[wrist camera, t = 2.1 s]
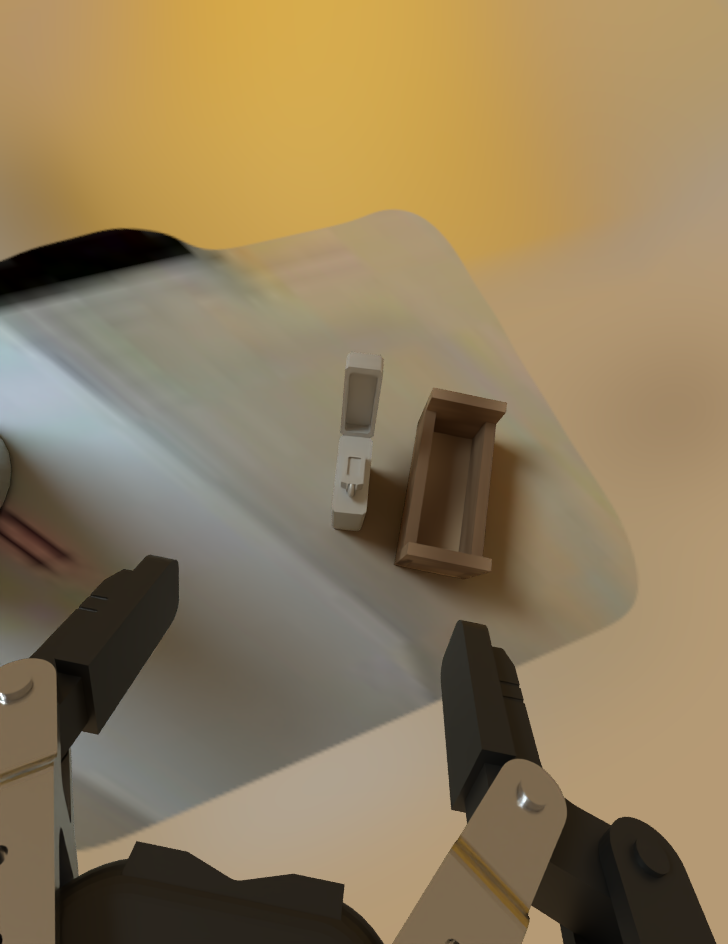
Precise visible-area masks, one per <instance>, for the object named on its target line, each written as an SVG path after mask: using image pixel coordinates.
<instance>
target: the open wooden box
mask: <svg viewBox="0 0 728 944" xmlns="http://www.w3.org/2000/svg"><path fill="white" fill-rule="evenodd" d="M506 406H507V403H506V402H501V401H496V400H491V399H486V398H481V397H477V396H472V395H467V394H462V393H457V392H452V391H447V390H443V389H438V388H433V390H432V392H431V394H430V396H429V399H428V401H427V403H426V406H425V408H424V410H423V412H422V415H421V417H420V419H419V422H418V426H417V432H416V438H415V444H414V450H413V456H412V462H411V468H410V474H409V480H408V486H407V491H406V497H405V503H404V509H403V515H402V521H401V527H400V533H399V539H398V545H397V551H396V557H395V563H394V565H398V566H402V567H407V568H412V569H417V570H422V571H427V572H432V573H437V574H441V575H446V576H451V577H456V578H461V579H466V578H470V577H473V576H476V575H480V574H483V573H487V572H490V571H491V566H492V559H491V558H486V557H483V548H484V538H485V528H486V518H487V508H488V498H489V489H490V479H491V469H492V459H493V449H494V439H495V429H496V424H497V422H498V421H499V420H500V419H501V418H502V416H503V415H504V414H505V413H506Z"/></svg>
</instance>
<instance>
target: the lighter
mask: <svg viewBox="0 0 728 944" xmlns="http://www.w3.org/2000/svg"><path fill="white" fill-rule="evenodd" d="M383 360H384V359H383V358H382V356H381V355H375V354H367V353H358V352H351V353H349V354H348V356H347V362H346V369H345V381H344V393H343V406H342V418H341V431H340V433H341V434H343V436H341V437H340V441H339V449H338V457H337V466H336V474H335V483H334V491H333V499H332V508H331V509H332V526H333V528H334V529H343V530H352V531H359V530H360V529H361V527H362V524H363V521H364V518H365V514H366V510H367V499H368V488H369V477H370V467H371V456H372V445H373V441H372V440H371V439H370V438H371V437H373V436H374V429H375V423H376V416H377V410H378V403H379V396H380V390H381V383H382V377H383Z"/></svg>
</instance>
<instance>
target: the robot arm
mask: <svg viewBox="0 0 728 944" xmlns="http://www.w3.org/2000/svg"><path fill="white" fill-rule="evenodd" d="M10 478H11V463H10V457H9V453H8V450H7V448H6V446H5V444H4V442H3V440H2V439H1V438H0V508H1V506H2V505H3V503H4V501H5V498H6V495H7V492H8V489H9V486H10ZM178 603H179V567H178V562H177V560H173V559H168V558H164V557H159V556H154V555H148V556H146V557H145V558H144V559H143V560H142V561H141V562H140V564H139V565H138V566H137V567H136V568H135V569H134V570H133V571H131V570H126V569H123V570H121V571H120V572H118V573H116V574H114V575H113V576H111V577H109V578H107V579H105V580H104V581H103V582H102V583H101V584H100V585H99V586H98V587H97V588H96V589H95V590H94V592H93V593H92V594H91V596H90V597H88V598H87V599H86V600H85V601H84V602H83V603H82V604H81V605H80V606H79V609H76V610H75V611H74V612H73V613H72V614H71V615H70V616H69V618H68V619H67V620H66V621H65V622H64V623H63V624H62V625H61V626H60V627H59V628H58V629H57V630H56V631H55V632H54V633H53V634H52V635H51V636H50V637H49V638H48V639H47V640H46V641H45V643H44V644H43V645H42V646H41V647H40V648H39V649H38V650H37V651H36V652H35V653H34V654H33V655H32V656H31V657H30V658H29V659H22V660H17V661H14V662H11V663H8V664H6V665H4V666H2V667H0V944H383V942H382V940H381V939H380V938H379V936H378V935H377V933H376V932H375V931H374V929H373V928H372V927H371V926H370V925H369V924H368V923H367V921H366V920H365V919H364V918H363V917H362V916H361V915H359V914H358V913H357V912H356V911H354V910H353V909H352V908H351V907H349V906H348V905H346V904H345V903H343V893H344V884H340V883H335V882H330V881H326V880H321V879H316V878H311V877H306V876H301V875H297V874H288V875H280V876H273V877H265V878H257V879H250V880H242V881H237V880H233V879H231V878H229V877H228V876H226V875H224V874H222V873H221V872H219V871H218V870H216V869H215V868H213V867H211V866H210V865H208V864H206V863H205V862H203V861H202V860H200V859H198V858H197V857H195V856H193V855H192V854H190V853H189V852H186V851H181V850H176V849H171V848H167V847H162V846H157V845H152V844H147V843H142V842H136V844H135V846H134V848H133V850H132V852H131V854H130V856H129V858H128V859H123V860H118V861H115V862H111V863H108V864H104V865H102V866H99V867H97V868H94V869H92V870H90V871H88V872H86V873H84V874H82V875H80V876H78V862H77V852H76V844H75V833H74V811H73V786H72V760H71V746H72V744H73V743H74V741H75V740H76V738H77V737H78V736H79V734H80V733H81V731H84V732H88V733H93V734H99V733H100V731H101V730H102V728H103V727H104V725H105V724H106V722H107V721H108V719H109V718H110V716H111V714H112V713H113V711H114V710H115V708H116V707H117V705H118V704H119V702H120V701H121V699H122V698H123V696H124V695H125V693H126V692H127V690H128V689H129V687H130V686H131V684H132V683H133V681H134V680H135V678H136V676H137V675H138V673H139V672H140V670H141V669H142V667H143V666H144V664H145V663H146V661H147V660H148V658H149V657H150V655H151V654H152V652H153V651H154V649H155V648H156V646H157V645H158V643H159V642H160V640H161V639H162V637H163V635H164V634H165V632H166V631H167V629H168V628H169V626H170V625H171V623H172V621H173V619H174V617H175V615H176V612H177V608H178ZM441 689H442V701H443V713H444V726H445V738H446V750H447V762H448V775H449V787H450V800H451V809H452V810H455V811H460V812H465V813H466V818H467V825H466V827H465V829H464V830H463V832H462V833H461V835H460V837H459V838H458V840H457V841H456V842H455V843H454V845H453V847H452V848H451V849H450V851H449V853H448V854H447V856H446V858H445V859H444V861H443V862H442V864H441V866H440V867H439V869H438V871H437V872H436V874H435V875H434V877H433V879H432V880H431V882H430V884H429V885H428V887H427V888H426V890H425V892H424V893H423V895H422V897H421V898H420V900H419V901H418V903H417V905H416V906H415V908H414V909H413V911H412V913H411V914H410V916H409V917H408V919H407V921H406V923H405V924H404V926H403V927H402V929H401V930H400V932H399V934H398V935H397V937H396V938H395V940H394V942H393V943H392V944H522V941H523V939H524V936H525V933H526V931H527V928H528V925H529V919H530V918H529V916H528V912H529V909H530V906H531V905H532V906H533V907H535V908H536V909H538V910H540V911H541V912H543V913H544V914H546V915H547V916H549V917H550V918H552V919H553V920H555V921H557V922H558V923H560V927H561V932H562V938H563V943H564V944H716V942H715V939H714V937H713V935H712V932H711V930H710V928H709V925H708V923H707V920H706V918H705V915H704V913H703V911H702V908H701V906H700V904H699V901H698V899H697V896H696V894H695V892H694V889H693V887H692V884H691V882H690V879H689V877H688V875H687V872H686V870H685V868H684V866H683V863H682V861H681V860H680V858H679V856H678V855H677V853H676V852H675V851H674V849H673V848H672V846H671V845H670V844H669V843H668V842H667V840H666V839H664V837H663V836H662V835H661V834H660V833H658V832H657V831H656V830H654V828H652V827H650V826H649V825H648V824H646V823H644V822H642V821H640V820H638V819H635V818H631V817H622V818H618V819H617V820H616V821H615V822H614V823H613V824H612V825H609V824H608V823H605V822H604V821H602V820H600V819H598V818H597V817H595V816H593V815H591V814H589V813H587V812H586V811H584V810H582V809H580V808H579V807H577V806H575V805H574V804H572V803H571V802H569V801H568V800H567V799H566V798H564V796H563V794H562V791H561V790H560V788H559V786H558V785H557V783H556V782H555V780H554V779H553V778H552V777H551V776H550V775H549V774H548V773H547V772H546V771H545V770H544V769H543V768H542V765H541V762H540V759H539V755H538V751H537V748H536V744H535V740H534V737H533V733H532V729H531V726H530V722H529V718H528V714H527V710H526V707H525V704H524V703H523V696H522V692H521V688H519V681H518V677H517V673H516V669H515V666H514V664H513V663H512V662H511V660H510V659H509V657H508V656H507V654H506V653H505V651H504V650H503V649H502V648H497V647H492V645H491V641H490V636H489V632H488V628H487V626H486V625H482V624H477V623H472V622H467V621H463V620H459V621H458V622H457V623H456V626H455V628H454V631H453V634H452V636H451V639H450V642H449V644H448V647H447V649H446V652H445V655H444V658H443V662H442V667H441Z"/></svg>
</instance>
